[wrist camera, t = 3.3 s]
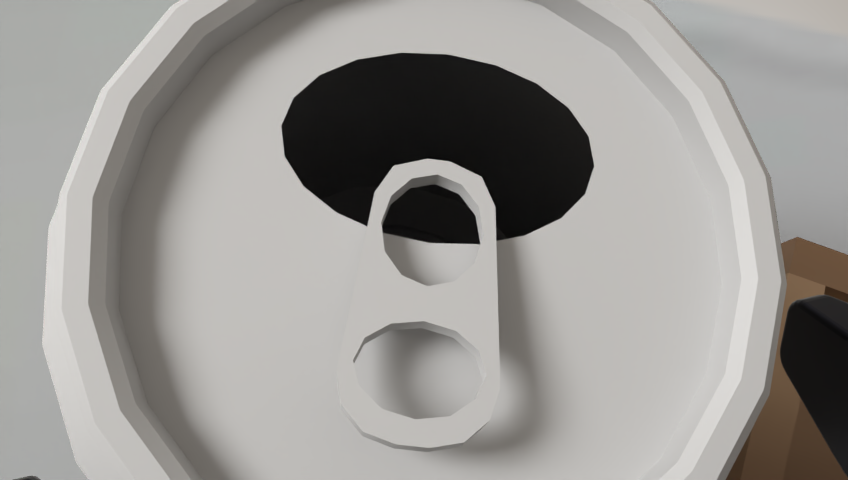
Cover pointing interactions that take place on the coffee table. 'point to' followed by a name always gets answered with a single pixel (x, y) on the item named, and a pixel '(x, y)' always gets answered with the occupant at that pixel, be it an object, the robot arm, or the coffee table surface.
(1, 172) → the coffee table surface
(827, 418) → the robot arm
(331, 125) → the can
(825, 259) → the tray
